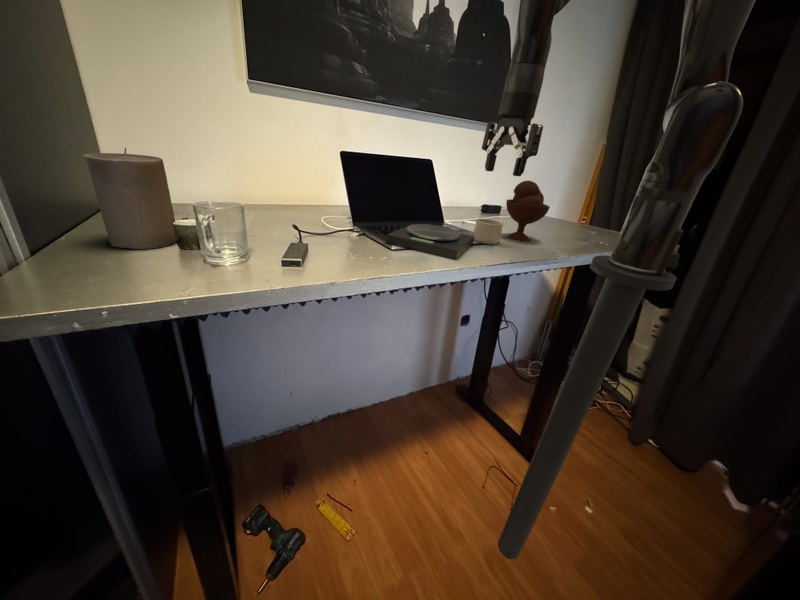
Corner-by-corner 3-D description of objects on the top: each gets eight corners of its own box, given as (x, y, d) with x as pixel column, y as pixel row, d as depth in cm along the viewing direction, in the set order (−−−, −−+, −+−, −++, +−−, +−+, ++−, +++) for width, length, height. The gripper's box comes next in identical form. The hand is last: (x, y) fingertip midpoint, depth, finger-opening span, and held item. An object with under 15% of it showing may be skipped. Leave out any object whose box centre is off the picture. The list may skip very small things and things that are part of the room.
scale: (472, 244, 79) (474, 234, 78) (455, 259, 66) (458, 248, 65) (412, 231, 84) (413, 222, 83) (386, 243, 72) (387, 233, 71)
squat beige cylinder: (500, 241, 84) (504, 222, 82) (496, 246, 79) (500, 226, 77) (475, 236, 86) (479, 217, 84) (469, 241, 81) (474, 221, 79)
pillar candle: (170, 231, 63) (153, 147, 57) (185, 245, 57) (168, 152, 51) (105, 237, 57) (77, 142, 50) (114, 253, 51) (84, 147, 44)
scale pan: (465, 233, 77) (465, 231, 77) (450, 244, 67) (451, 241, 67) (418, 223, 81) (419, 221, 81) (398, 232, 71) (398, 230, 71)
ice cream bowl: (536, 246, 83) (554, 185, 76) (493, 237, 88) (507, 178, 81) (542, 239, 91) (558, 183, 85) (503, 231, 96) (516, 177, 90)
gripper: (561, 94, 66) (537, 178, 73) (507, 96, 76) (491, 170, 83) (538, 87, 62) (515, 177, 69) (484, 90, 72) (469, 168, 79)
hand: (502, 173), depth 76 cm, fingers open, 8 cm apart
